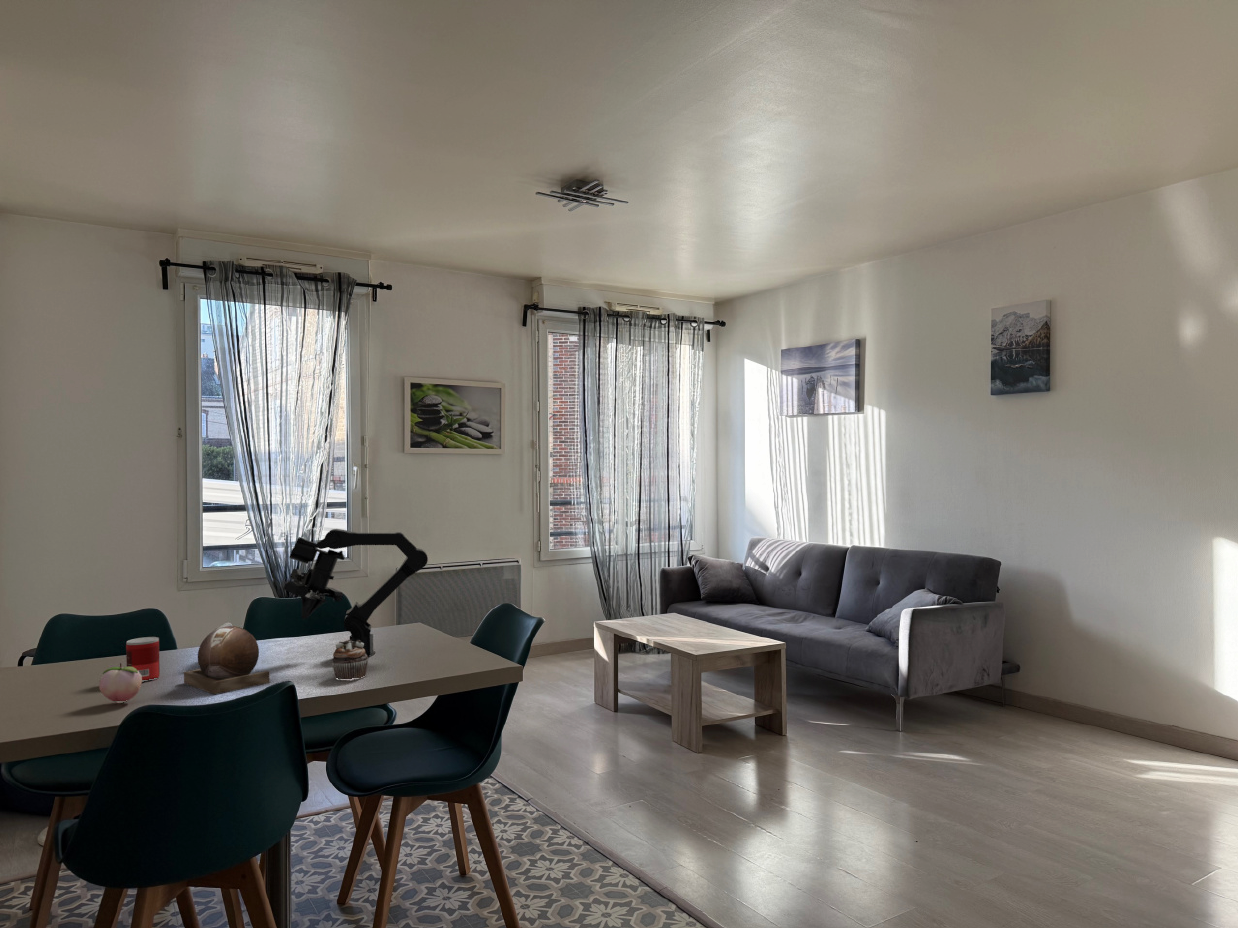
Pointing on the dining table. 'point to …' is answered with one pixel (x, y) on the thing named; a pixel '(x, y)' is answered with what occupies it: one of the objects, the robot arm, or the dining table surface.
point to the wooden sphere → (228, 653)
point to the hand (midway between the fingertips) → (303, 618)
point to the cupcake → (350, 660)
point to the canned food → (144, 656)
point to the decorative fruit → (120, 683)
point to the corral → (224, 681)
